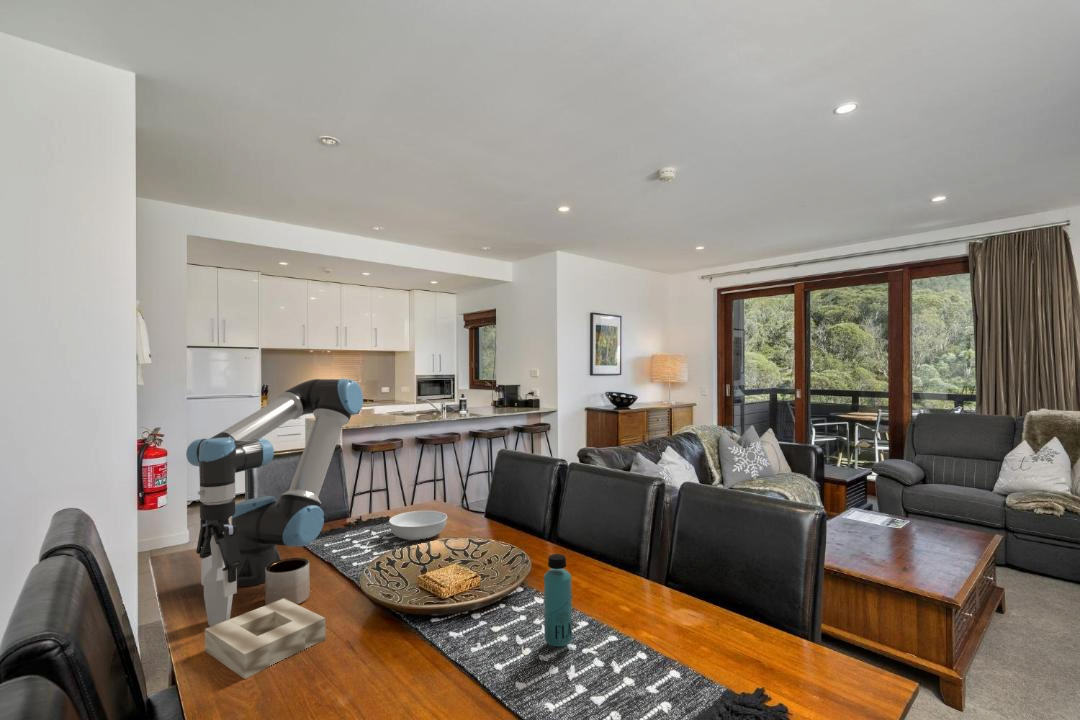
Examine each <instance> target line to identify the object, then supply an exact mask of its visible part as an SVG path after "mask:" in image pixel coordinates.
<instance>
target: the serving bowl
mask: <svg viewBox="0 0 1080 720" xmlns="http://www.w3.org/2000/svg"><path fill="white" fill-rule="evenodd" d="M447 520H448V515H447V514H446V513H444V512H441V511H436V510H414V511H406V512H402V513H399V514H396V515H394V516H392V517H390V518H389V520H388V524H389V525H388V526H389V528H390V531H391V532H392V533H393V535H395V536H396V537H397V538H400V539H403V540H408V541H421V540H420V539H423V540H427V539H430V538H432V537H436V536H437V535H438V534H441V532H442V531H443V530H444V528H445V527H446V525H447ZM426 538H427V539H426Z"/></svg>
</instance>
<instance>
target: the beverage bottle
mask: <svg viewBox="0 0 1080 720" xmlns="http://www.w3.org/2000/svg"><path fill="white" fill-rule="evenodd" d="M547 566H548V568H550V569H548V571H547V572H545V574H544V575H543V591H544V592H543V595H544V599H543V601H544V603H543V604H544V608H543V609H544V610H543V611H544V613H543V616H544V623H543V626H544V627H543V633H544V640H545V642H546V643H547V644H548V645H550V646H554V647H564V646H566V645H569V644H570V643H571V642H572V639H573V635H574V634H573V630H574V628H573V625H574V624H573V609H572V607H573V604H572V603H573V601H572V600H573V599H572V598H573V590H572V575H571V573H570V572H569V571H568V570H567V569H565V568H567V557H566V556H565V555H564V554H561V553H554V554H551V555H549V556H548V562H547Z"/></svg>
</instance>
